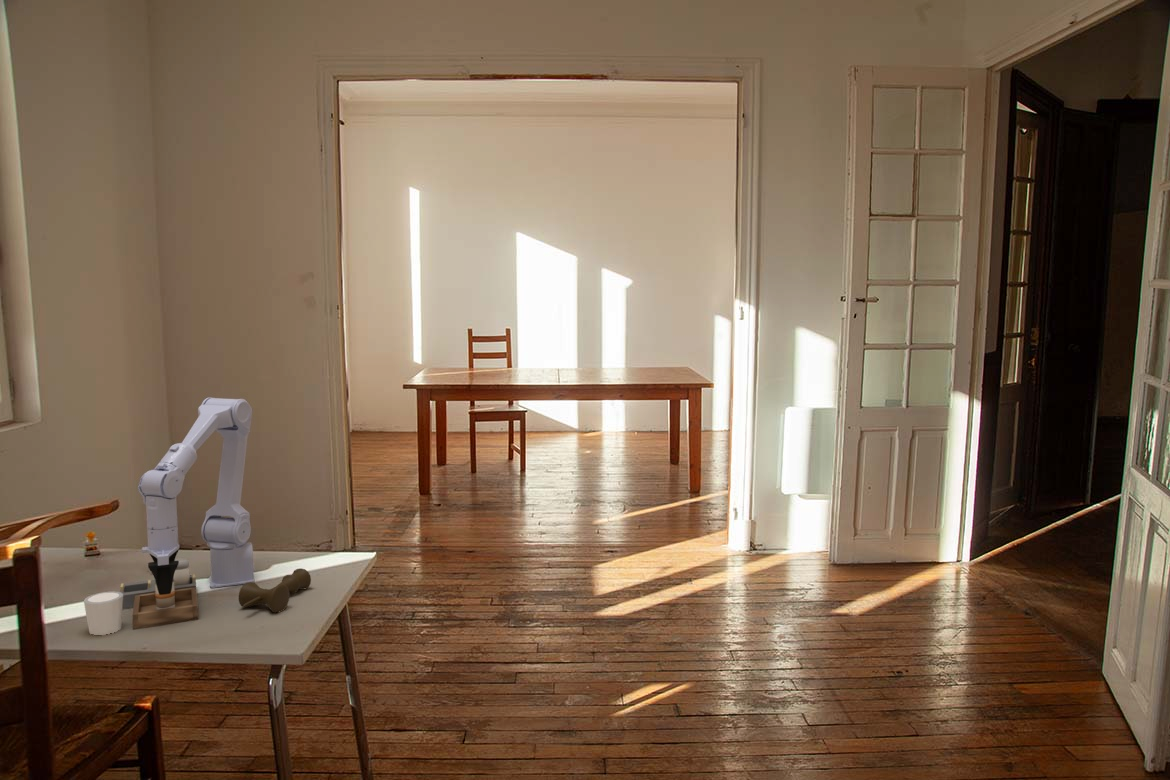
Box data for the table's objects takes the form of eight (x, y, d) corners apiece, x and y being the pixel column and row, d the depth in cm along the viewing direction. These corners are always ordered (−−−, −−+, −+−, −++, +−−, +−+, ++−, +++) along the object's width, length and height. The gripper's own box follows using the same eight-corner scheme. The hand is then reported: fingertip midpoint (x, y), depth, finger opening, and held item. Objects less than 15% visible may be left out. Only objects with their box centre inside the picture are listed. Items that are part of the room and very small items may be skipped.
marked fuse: (175, 606, 174) (173, 571, 173) (175, 613, 171) (173, 576, 170) (156, 609, 172) (154, 573, 171) (155, 615, 169) (154, 579, 168)
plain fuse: (190, 590, 185) (188, 557, 184) (190, 596, 182) (189, 562, 181) (172, 593, 184) (171, 559, 183) (172, 598, 180) (171, 564, 180)
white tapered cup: (96, 639, 159) (94, 605, 158) (78, 631, 162) (76, 598, 161) (131, 628, 164) (130, 595, 164) (113, 620, 168) (111, 588, 167)
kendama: (321, 592, 187) (262, 622, 168) (286, 588, 190) (225, 617, 171) (320, 567, 187) (261, 594, 168) (285, 563, 190) (224, 590, 171)
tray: (196, 599, 180) (196, 587, 179) (198, 619, 169) (197, 605, 169) (135, 608, 174) (134, 595, 174) (133, 629, 164) (132, 615, 163)
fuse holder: (195, 586, 188) (195, 570, 187) (196, 598, 181) (195, 581, 180) (122, 596, 181) (121, 579, 180) (120, 609, 174) (119, 591, 173)
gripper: (142, 519, 174) (145, 579, 176) (139, 537, 161) (142, 602, 163) (178, 515, 177) (180, 575, 179) (178, 533, 164) (181, 597, 166)
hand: (165, 587), depth 171 cm, fingers open, 7 cm apart
